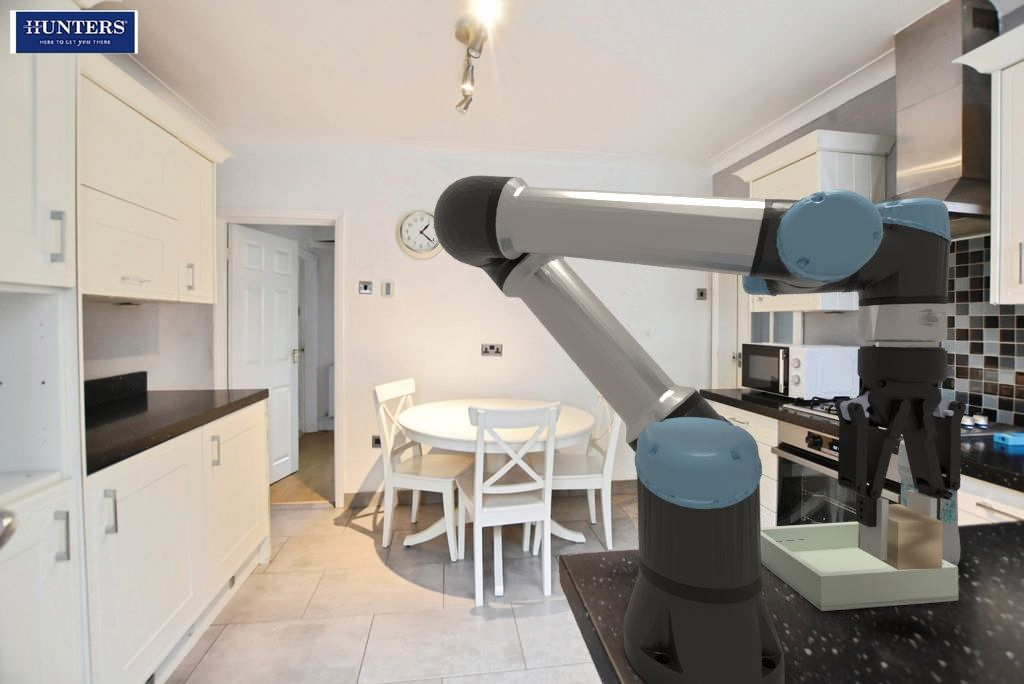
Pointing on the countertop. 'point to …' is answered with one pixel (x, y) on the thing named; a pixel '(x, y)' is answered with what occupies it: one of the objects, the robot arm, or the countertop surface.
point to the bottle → (946, 509)
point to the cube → (912, 539)
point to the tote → (848, 569)
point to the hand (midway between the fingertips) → (897, 552)
